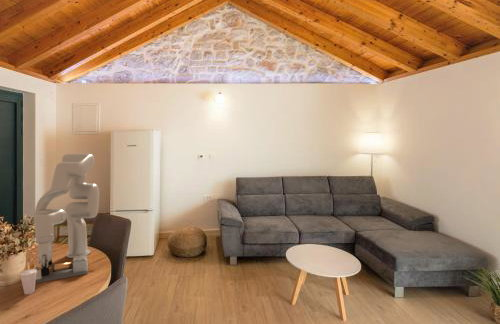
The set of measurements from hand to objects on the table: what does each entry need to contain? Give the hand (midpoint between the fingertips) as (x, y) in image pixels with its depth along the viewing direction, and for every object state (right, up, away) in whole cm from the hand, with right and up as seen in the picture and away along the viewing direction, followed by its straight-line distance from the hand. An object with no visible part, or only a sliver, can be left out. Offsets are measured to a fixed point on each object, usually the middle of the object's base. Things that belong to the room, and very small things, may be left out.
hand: (47, 271), depth 151 cm
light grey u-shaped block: (-3, -2, -1) cm, 4 cm away
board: (+5, -3, +3) cm, 7 cm away
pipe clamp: (-7, -3, +5) cm, 9 cm away
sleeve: (+13, -1, +7) cm, 15 cm away
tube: (+4, -1, +2) cm, 4 cm away
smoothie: (+1, -5, -14) cm, 15 cm away
